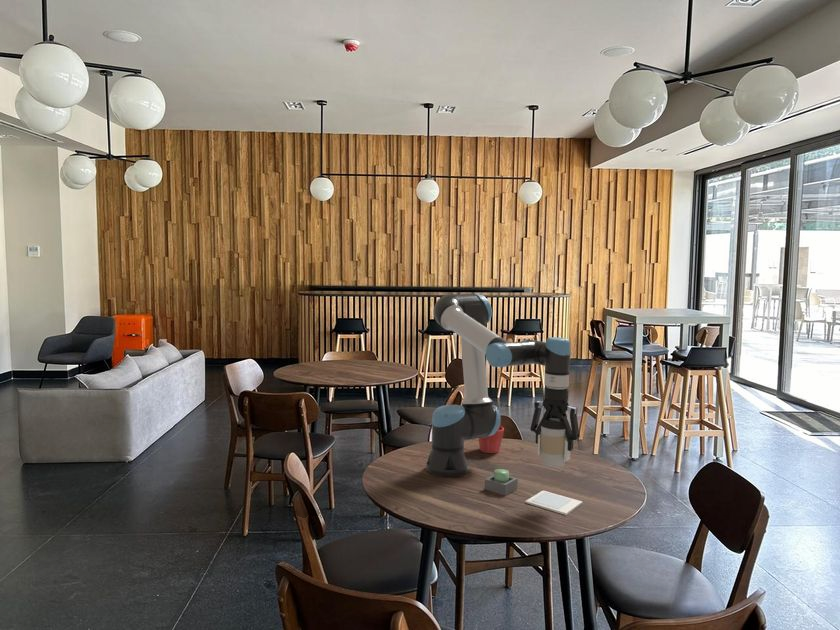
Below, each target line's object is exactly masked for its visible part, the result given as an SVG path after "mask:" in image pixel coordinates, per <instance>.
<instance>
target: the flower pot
mask: <svg viewBox="0 0 840 630" xmlns="http://www.w3.org/2000/svg"><path fill="white" fill-rule="evenodd" d="M504 432H505V428H504V427H503V426H502V425H500V426H499V429H498V430H497V431H496V433H495V434H494V435H491V436H487V437H485V438H477V440H478V445H479V450H480V452H483V453H486V454H496V453H499V452H500V449H501V445H502V441H503V437H504Z"/></svg>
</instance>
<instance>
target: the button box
mask: <svg viewBox="0 0 840 630" xmlns="http://www.w3.org/2000/svg"><path fill="white" fill-rule="evenodd" d="M518 481H519V479H518V478H517V477H513V476H510V475H509V481H508V482H506V483H501V482H498V481H494V474H492V475H490V476H488V477H486V478H484V490H486V491H488V492H489V491H490V492H493V493H496V494H499V495H503V496H507V495H508V494H511V493H512V492H513V491H516V490H518Z"/></svg>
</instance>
